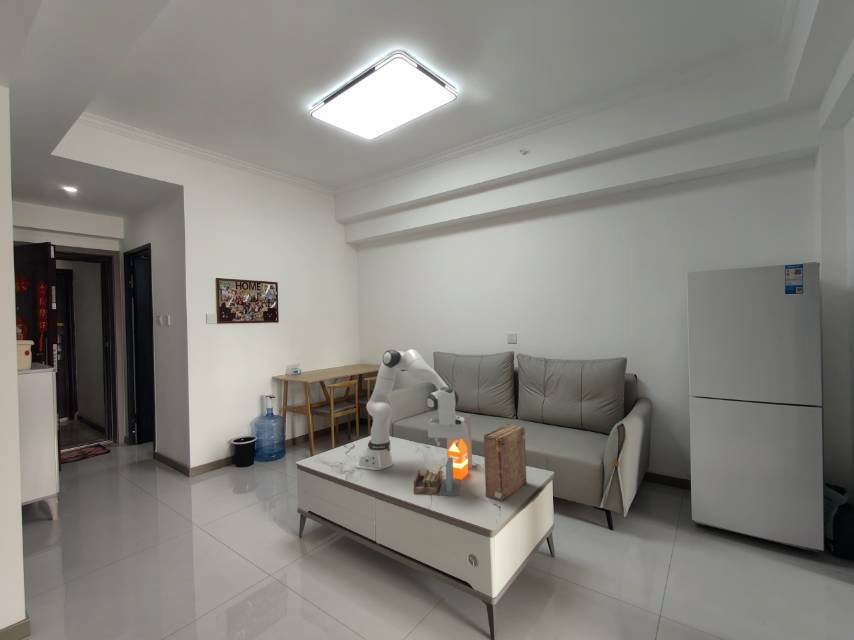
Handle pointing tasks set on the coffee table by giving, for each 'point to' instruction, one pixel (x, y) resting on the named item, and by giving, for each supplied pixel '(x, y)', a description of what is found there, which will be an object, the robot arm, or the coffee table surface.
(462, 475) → the orange juice
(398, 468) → the coffee table surface
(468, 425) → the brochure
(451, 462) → the light blue slab
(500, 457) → the book
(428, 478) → the offcut
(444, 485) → the mat
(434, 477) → the offcut
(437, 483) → the rack
